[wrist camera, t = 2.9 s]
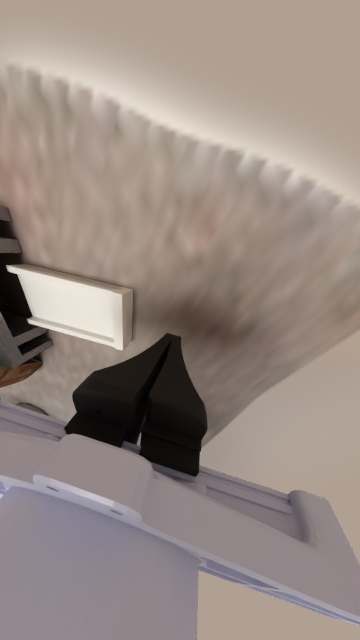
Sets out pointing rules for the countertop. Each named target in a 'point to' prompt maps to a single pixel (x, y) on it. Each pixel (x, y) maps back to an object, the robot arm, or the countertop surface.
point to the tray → (77, 305)
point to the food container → (17, 372)
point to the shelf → (17, 320)
